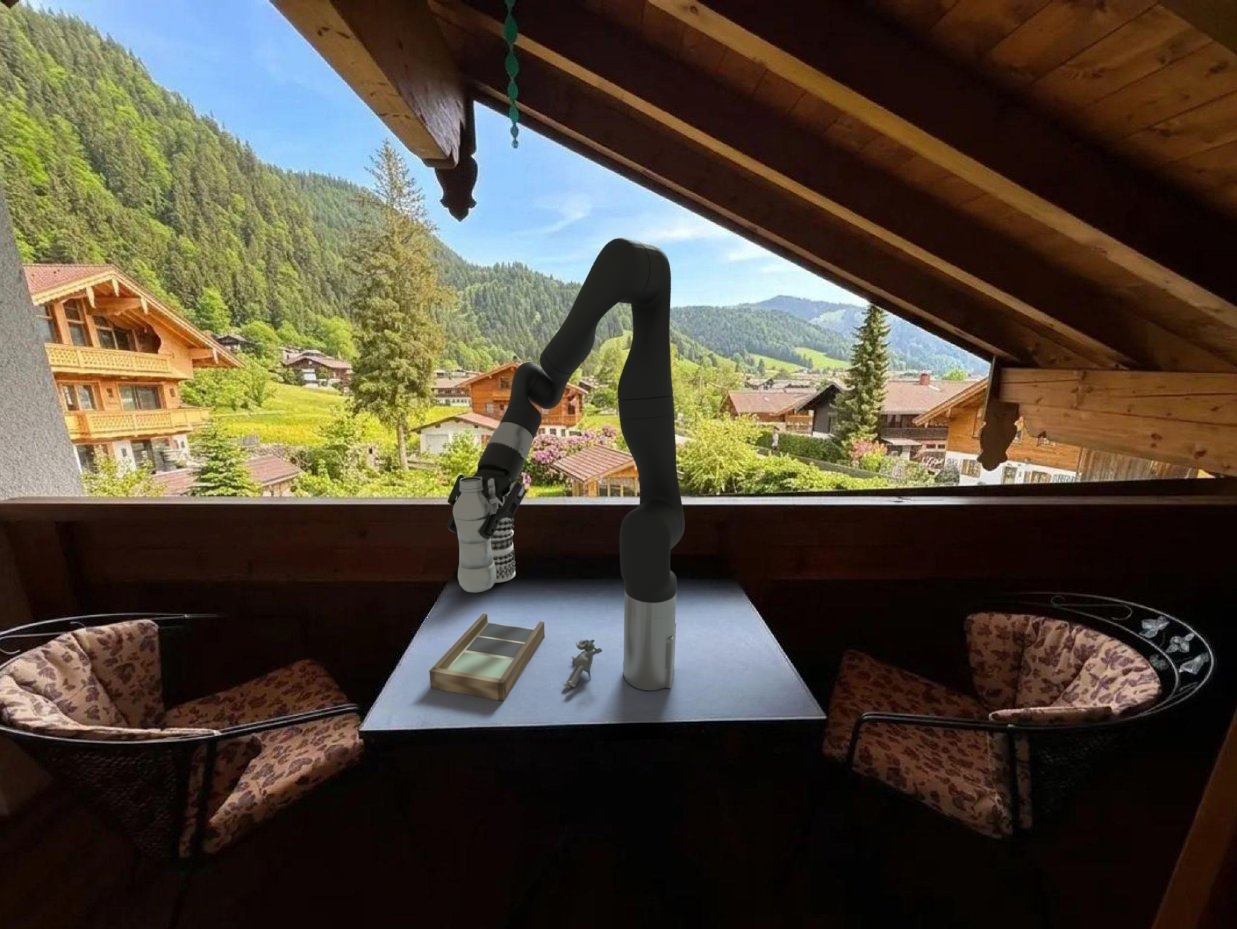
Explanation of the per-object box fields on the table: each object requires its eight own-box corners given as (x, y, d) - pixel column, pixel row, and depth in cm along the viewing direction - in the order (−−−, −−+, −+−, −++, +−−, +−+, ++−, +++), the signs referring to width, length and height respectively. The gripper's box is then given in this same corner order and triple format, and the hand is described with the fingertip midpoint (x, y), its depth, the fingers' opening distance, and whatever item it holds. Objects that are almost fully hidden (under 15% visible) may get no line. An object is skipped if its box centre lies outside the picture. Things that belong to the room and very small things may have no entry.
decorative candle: (512, 583, 119) (508, 491, 113) (477, 583, 119) (471, 490, 113) (520, 567, 128) (517, 481, 122) (487, 567, 128) (482, 480, 122)
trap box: (544, 636, 97) (544, 621, 96) (503, 701, 78) (502, 683, 78) (483, 628, 99) (482, 613, 99) (430, 687, 81) (429, 670, 81)
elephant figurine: (544, 680, 84) (568, 640, 91) (567, 701, 85) (590, 660, 91) (571, 670, 77) (595, 627, 84) (596, 693, 78) (618, 649, 85)
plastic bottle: (475, 601, 77) (467, 487, 72) (450, 589, 81) (441, 480, 76) (505, 586, 82) (499, 478, 78) (480, 575, 86) (473, 472, 81)
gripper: (465, 437, 85) (421, 518, 77) (530, 444, 80) (491, 531, 72) (485, 460, 91) (446, 536, 83) (547, 467, 86) (512, 549, 78)
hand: (467, 533), depth 78 cm, fingers closed on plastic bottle, 6 cm apart
